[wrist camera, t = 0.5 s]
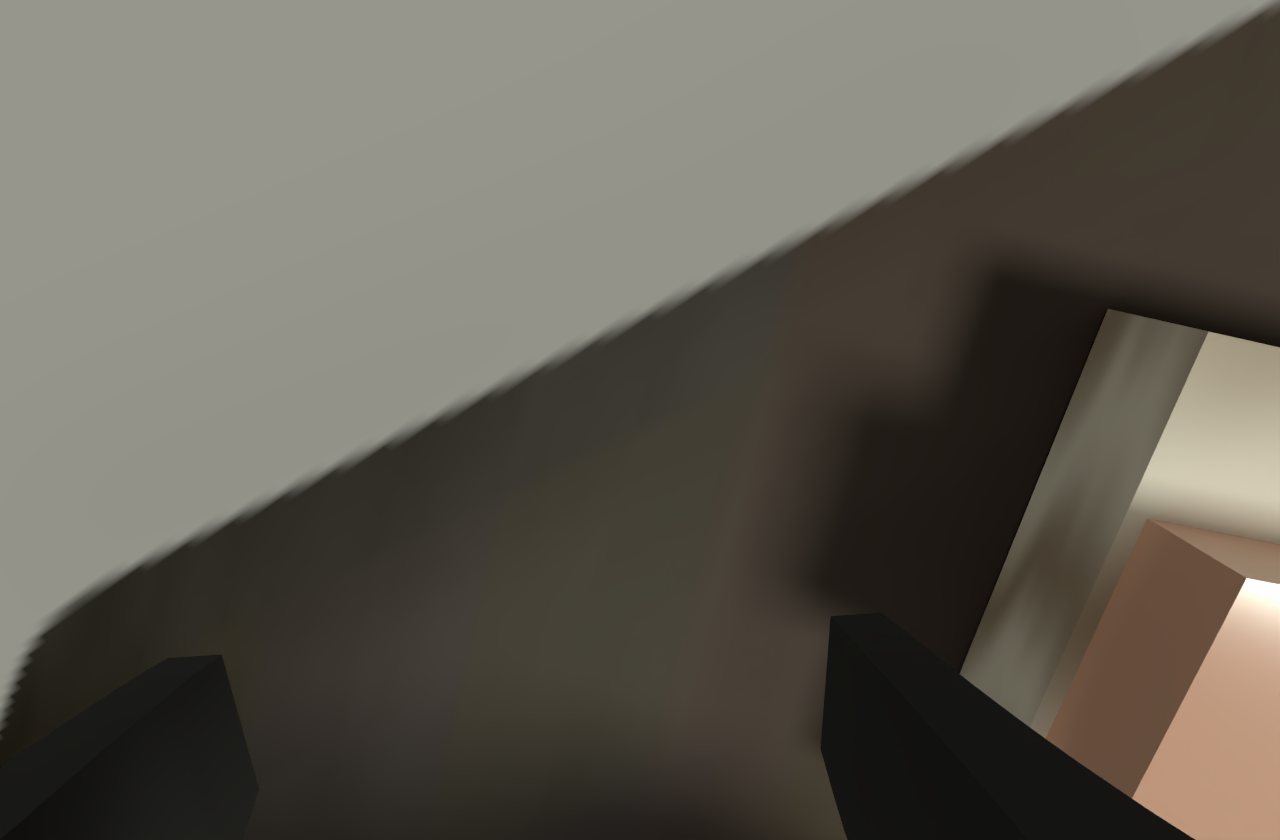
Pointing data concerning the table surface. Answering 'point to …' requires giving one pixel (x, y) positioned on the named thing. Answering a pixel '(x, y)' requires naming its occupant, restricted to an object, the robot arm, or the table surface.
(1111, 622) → the tile
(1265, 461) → the bench plate
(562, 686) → the table surface
